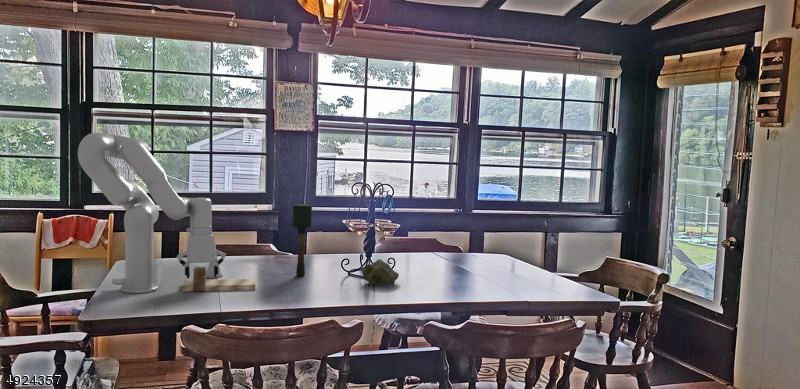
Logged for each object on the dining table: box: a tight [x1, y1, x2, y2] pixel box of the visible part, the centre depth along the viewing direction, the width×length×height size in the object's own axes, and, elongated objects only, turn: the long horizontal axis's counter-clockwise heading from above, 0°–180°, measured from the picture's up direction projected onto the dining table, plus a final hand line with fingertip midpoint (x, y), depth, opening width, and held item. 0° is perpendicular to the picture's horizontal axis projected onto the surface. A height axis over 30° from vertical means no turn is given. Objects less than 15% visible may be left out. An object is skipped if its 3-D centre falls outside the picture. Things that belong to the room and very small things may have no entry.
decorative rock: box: [361, 258, 399, 286], centre depth 244 cm, size 15×16×10 cm
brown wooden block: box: [192, 266, 207, 292], centre depth 226 cm, size 4×14×8 cm, turn 14°
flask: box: [206, 254, 223, 279], centre depth 246 cm, size 7×7×10 cm
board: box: [181, 278, 256, 292], centre depth 228 cm, size 26×10×2 cm, turn 104°
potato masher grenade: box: [291, 203, 313, 277], centre depth 253 cm, size 8×9×30 cm
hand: (201, 276), depth 224 cm, fingers open, 9 cm apart
